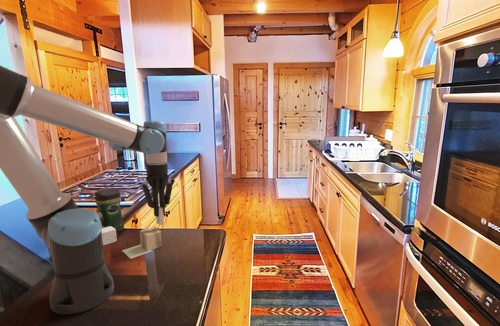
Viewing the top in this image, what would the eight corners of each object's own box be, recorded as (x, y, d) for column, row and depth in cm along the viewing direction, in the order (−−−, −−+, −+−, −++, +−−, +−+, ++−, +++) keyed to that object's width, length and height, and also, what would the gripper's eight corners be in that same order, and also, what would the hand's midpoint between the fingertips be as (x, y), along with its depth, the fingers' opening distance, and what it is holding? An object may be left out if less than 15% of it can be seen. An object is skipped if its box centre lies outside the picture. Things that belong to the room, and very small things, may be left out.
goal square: (152, 251, 101) (152, 250, 101) (130, 258, 96) (130, 258, 96) (143, 243, 107) (143, 243, 107) (122, 250, 102) (122, 250, 102)
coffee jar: (117, 225, 125) (114, 185, 122) (126, 230, 120) (123, 188, 117) (95, 232, 117) (90, 190, 114) (104, 237, 112) (99, 193, 109)
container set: (111, 238, 112) (110, 225, 111) (117, 242, 109) (115, 229, 108) (53, 256, 98) (51, 242, 97) (57, 262, 94) (55, 247, 93)
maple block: (162, 231, 104) (146, 235, 100) (162, 246, 105) (147, 251, 101) (155, 226, 109) (139, 230, 104) (155, 241, 110) (140, 245, 105)
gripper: (168, 160, 110) (170, 216, 114) (135, 163, 101) (139, 225, 105) (177, 162, 104) (180, 221, 108) (143, 166, 95) (147, 231, 99)
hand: (160, 223), depth 107 cm, fingers closed
